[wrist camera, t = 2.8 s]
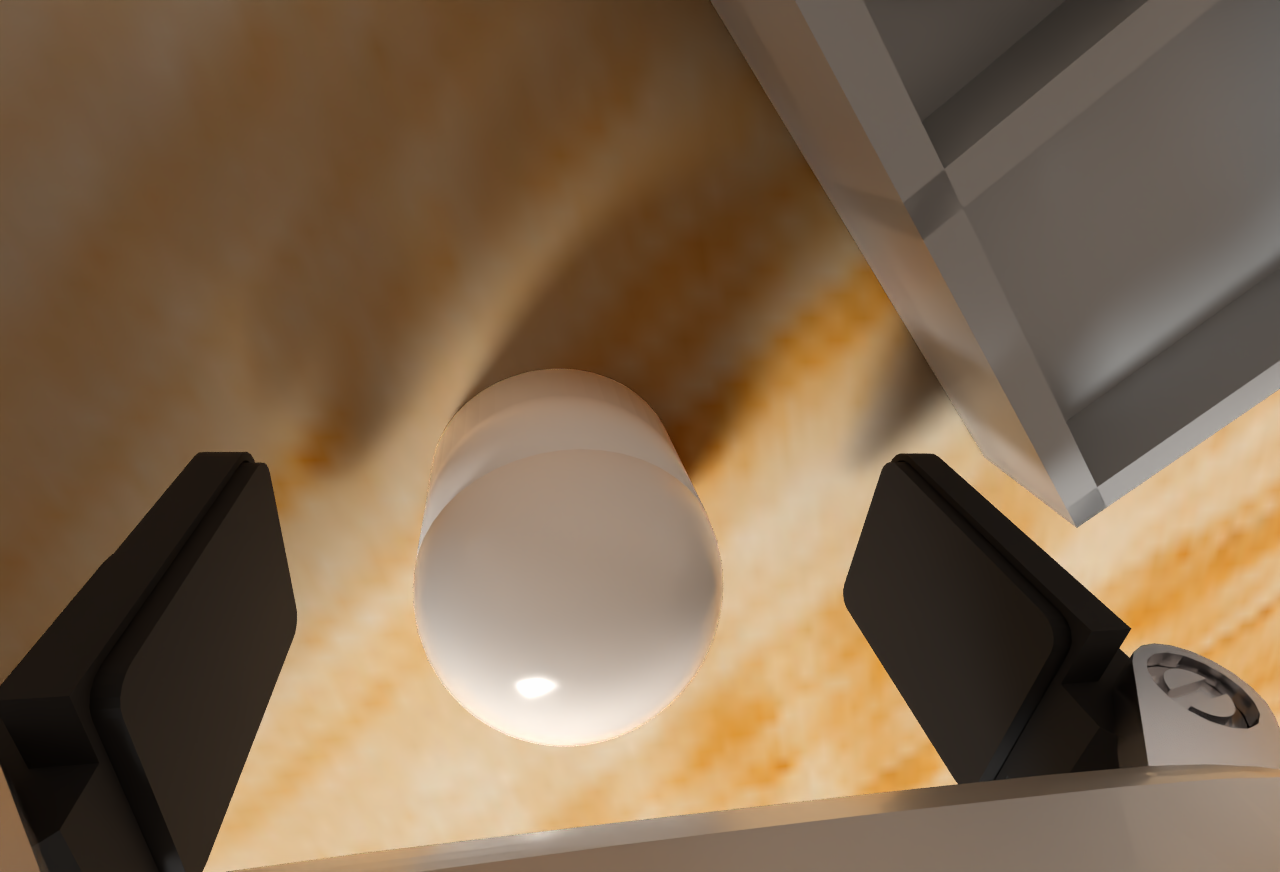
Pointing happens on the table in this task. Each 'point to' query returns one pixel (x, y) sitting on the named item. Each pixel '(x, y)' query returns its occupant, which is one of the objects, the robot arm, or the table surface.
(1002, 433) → the carton
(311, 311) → the table surface
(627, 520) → the egg
